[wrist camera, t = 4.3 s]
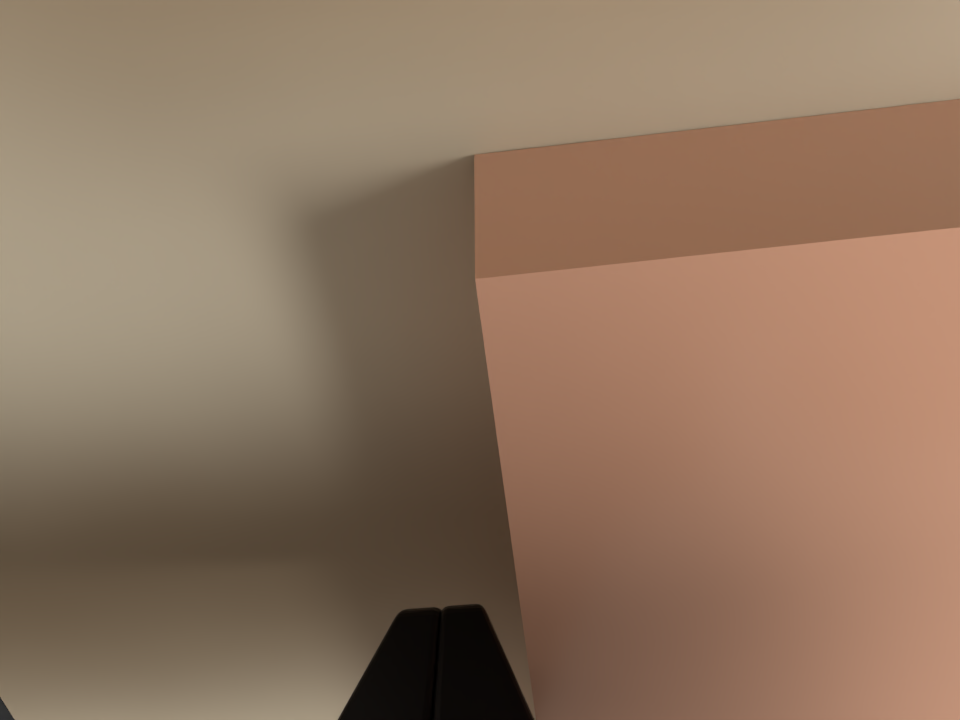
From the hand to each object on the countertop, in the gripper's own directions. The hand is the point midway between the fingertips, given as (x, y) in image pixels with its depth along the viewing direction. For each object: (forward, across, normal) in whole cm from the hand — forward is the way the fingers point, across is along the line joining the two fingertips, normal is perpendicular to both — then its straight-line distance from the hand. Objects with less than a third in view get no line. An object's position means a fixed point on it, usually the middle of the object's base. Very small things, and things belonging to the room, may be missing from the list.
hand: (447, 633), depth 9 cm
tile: (+1, -4, 0) cm, 4 cm away
